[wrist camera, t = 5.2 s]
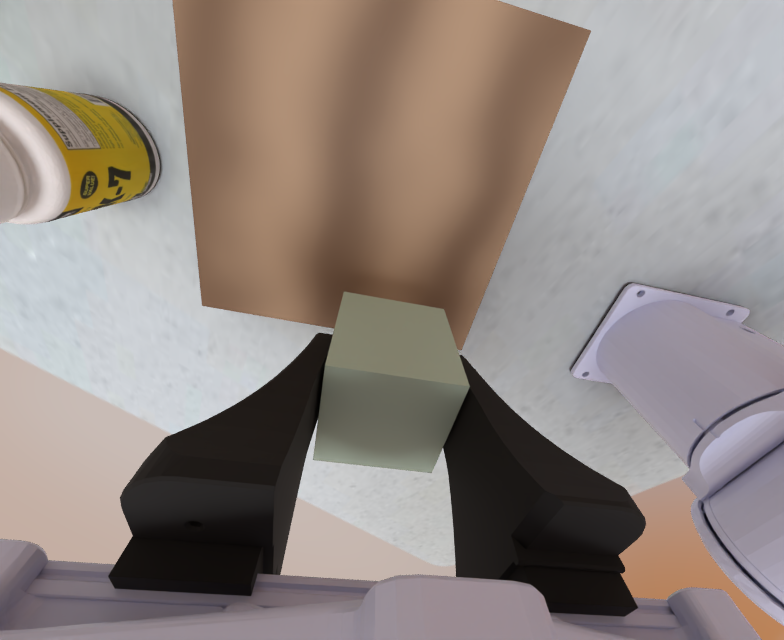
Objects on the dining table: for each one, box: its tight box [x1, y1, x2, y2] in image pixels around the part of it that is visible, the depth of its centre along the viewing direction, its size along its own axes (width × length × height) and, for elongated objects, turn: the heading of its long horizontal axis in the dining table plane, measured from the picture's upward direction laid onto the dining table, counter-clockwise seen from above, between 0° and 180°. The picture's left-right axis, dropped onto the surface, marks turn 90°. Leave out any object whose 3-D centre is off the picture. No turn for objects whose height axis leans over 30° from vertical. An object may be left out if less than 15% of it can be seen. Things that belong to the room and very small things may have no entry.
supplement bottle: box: [0, 83, 160, 224], centre depth 13 cm, size 5×5×8 cm
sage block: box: [313, 292, 470, 473], centre depth 13 cm, size 4×4×5 cm
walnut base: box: [173, 0, 591, 350], centre depth 17 cm, size 16×16×2 cm
